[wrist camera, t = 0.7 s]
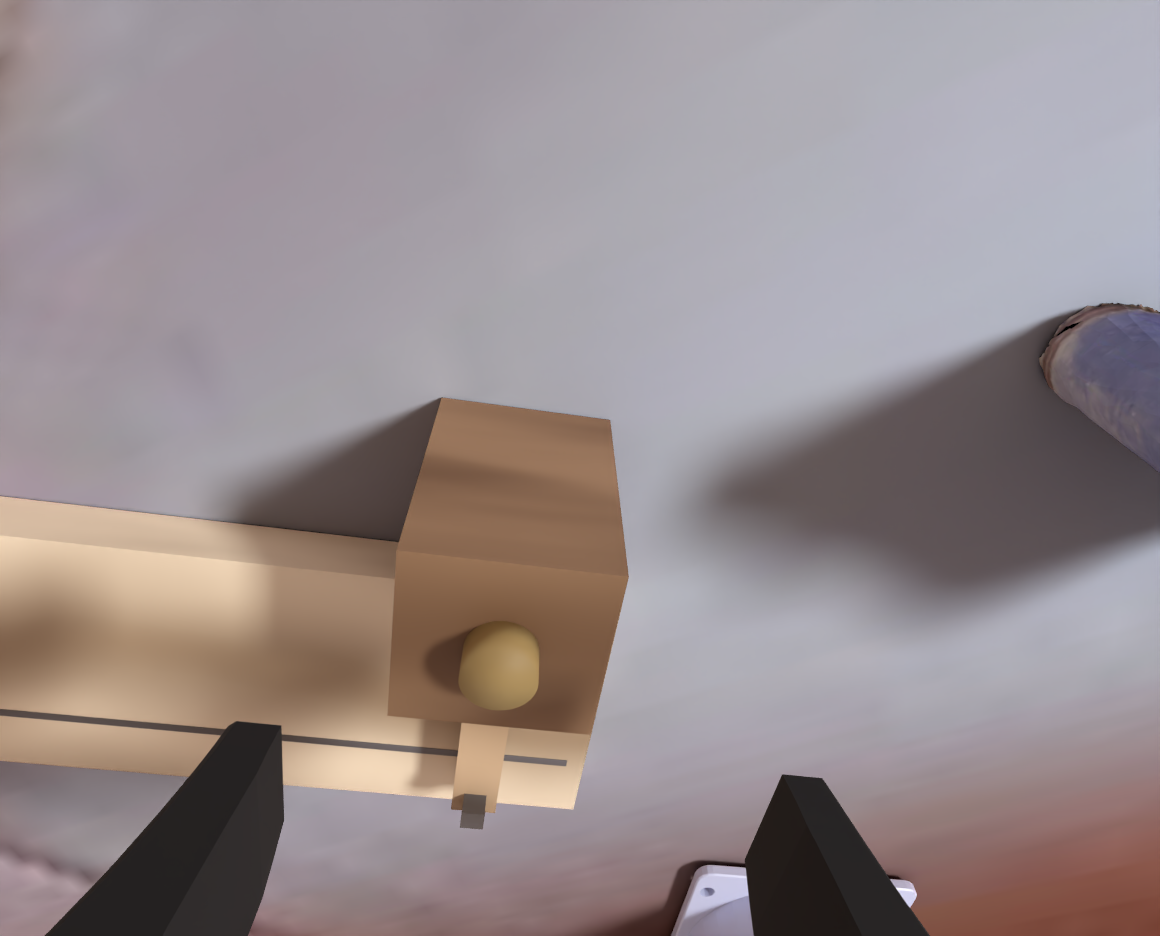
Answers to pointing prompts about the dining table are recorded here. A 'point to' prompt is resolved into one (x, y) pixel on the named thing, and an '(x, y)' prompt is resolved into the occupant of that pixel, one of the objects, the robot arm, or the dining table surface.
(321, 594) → the board
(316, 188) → the dining table surface
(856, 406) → the dining table surface
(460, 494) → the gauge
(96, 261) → the dining table surface
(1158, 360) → the flask
